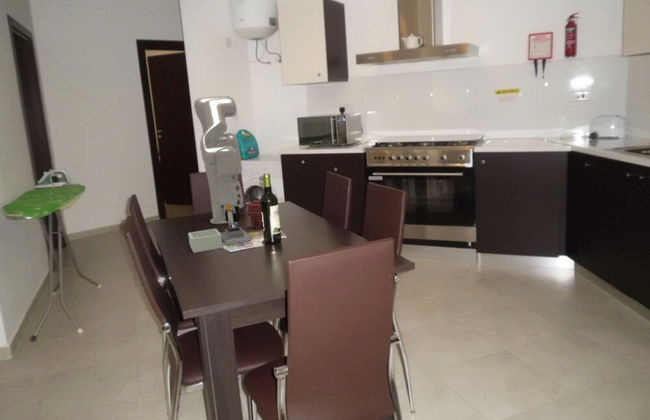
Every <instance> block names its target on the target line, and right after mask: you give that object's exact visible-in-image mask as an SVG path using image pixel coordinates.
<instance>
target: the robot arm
mask: <svg viewBox="0 0 650 420" xmlns="http://www.w3.org/2000/svg"><path fill="white" fill-rule="evenodd" d="M193 105H194V106H193V107H194V111H195V114H196V117H197V118H198V120H199V122H200V124H201V128H202V136H201V138H200V144H199V145H200V152H201V158H202V161H203V163H204V169H205V174H206V178H207V181H208V187H209V197H210V203H211V212H212V218H211V219H210V224H214V225H220V224H221V225H222V224H229V222H228V213H227V210H226V209H225V205H231V206H232V208H233V212H234V213H233V222H237V223H238V222H240V211H241V209H242V208H243V207H244V206H245V204H244V195H243V191H242V190H243V189H242V186H241V183H240V181H239V180H238V179H239V176H238V175H240V174H241V173H242V170H243V166H242V158H241V150H240V142H239V139H238V137H237V135H236V134H235V133H233V132H229V133H226V132H227V129H228V125H227V121H226V118H230V117H231V118H233V117H235V116H236V115H237V109H238V108H237V104H236V101H235V100H234V99H233V97H231V96H229V95H222V96H221V95H220V96H207V97H206V96H205V97H204V96H203V97H199V98H197V99H196V100H194V104H193ZM235 207H237V208H235Z"/></svg>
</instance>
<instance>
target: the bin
mask: <svg viewBox="0 0 650 420" xmlns="http://www.w3.org/2000/svg"><path fill="white" fill-rule="evenodd" d="M220 233H221V232H219V230H218V229H217V228H211V229H205V230H199V231H192V232H188V233H187V234H188V242H189V247H190V249H191V251H192V252H193V254H194V253H195V254H196V253H200V252H207V251H212V250H218V249H223V240H222V238H221V234H220Z"/></svg>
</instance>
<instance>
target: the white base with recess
mask: <svg viewBox="0 0 650 420" xmlns="http://www.w3.org/2000/svg"><path fill="white" fill-rule="evenodd" d="M219 233H220V234H221V239H223V240H222V242H224V244H225V245H226V244H228V245H233V244H232V243H234V244H238V243H237V242H240V243H244V242H243V241H245V242H249V240H251V236H250V234H248V232H246V230H244V229H243V228H242V227H240V226H238V227H237V228H224V231H221V232H219Z"/></svg>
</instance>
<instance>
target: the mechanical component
mask: <svg viewBox="0 0 650 420" xmlns="http://www.w3.org/2000/svg"><path fill="white" fill-rule="evenodd" d="M260 201H261V200H260V199H259V200H257V199H256V200H253V201H252V202H249V203H248V204H247V207H248V208H247V209H248V210H246V215H247V216H249V217H250V223H251V224H250V225H251V226H252V227H254V228H255V229H256V230H259V229H262V228H264V227H263V222H262V214H261V207H260Z"/></svg>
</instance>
